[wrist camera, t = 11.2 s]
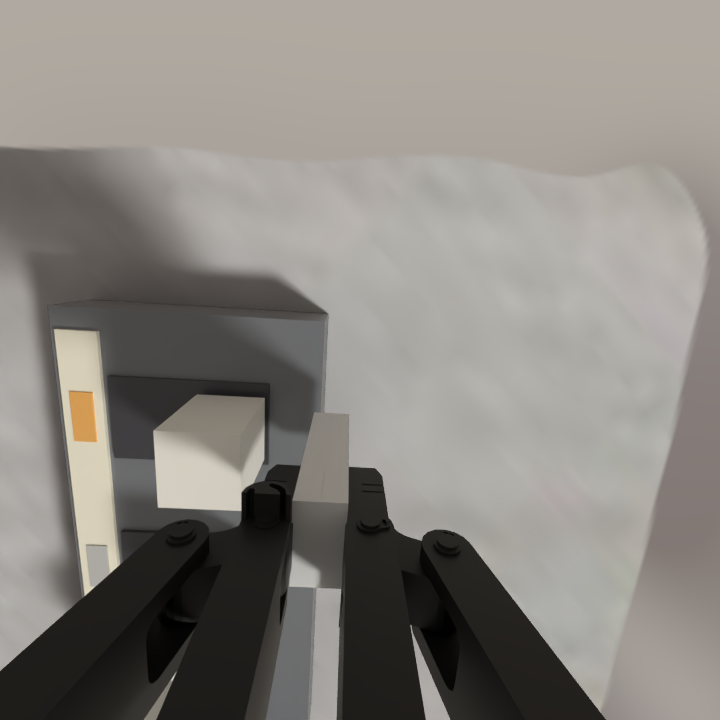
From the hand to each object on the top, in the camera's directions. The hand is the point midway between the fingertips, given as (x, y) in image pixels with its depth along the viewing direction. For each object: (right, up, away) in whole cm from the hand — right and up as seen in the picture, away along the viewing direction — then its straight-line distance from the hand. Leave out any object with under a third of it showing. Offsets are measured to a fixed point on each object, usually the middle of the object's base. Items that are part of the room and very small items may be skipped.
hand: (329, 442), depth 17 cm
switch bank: (-7, -6, +6) cm, 11 cm away
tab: (-5, 0, +1) cm, 5 cm away
